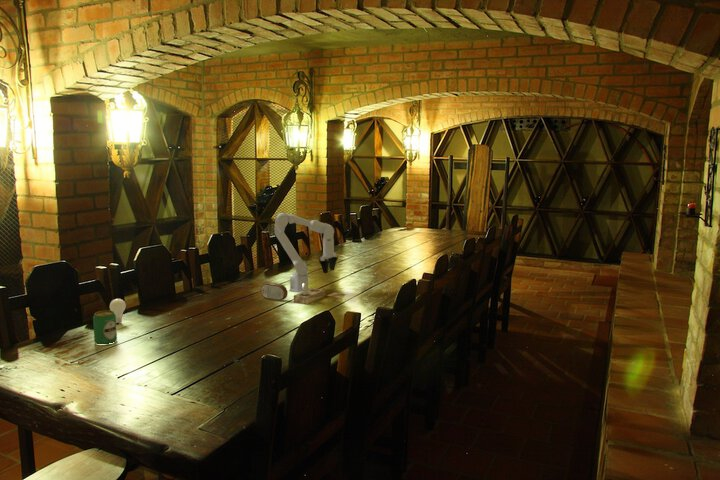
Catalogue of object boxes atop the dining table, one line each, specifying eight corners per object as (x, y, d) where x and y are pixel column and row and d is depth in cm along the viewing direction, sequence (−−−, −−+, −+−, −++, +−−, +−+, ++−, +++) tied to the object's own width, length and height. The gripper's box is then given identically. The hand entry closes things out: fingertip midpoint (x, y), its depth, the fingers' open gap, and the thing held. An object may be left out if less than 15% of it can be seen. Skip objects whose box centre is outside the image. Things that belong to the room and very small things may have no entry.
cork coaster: (326, 296, 288) (326, 295, 288) (334, 293, 295) (334, 292, 295) (340, 298, 284) (340, 297, 284) (347, 294, 291) (347, 294, 291)
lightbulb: (111, 326, 234) (109, 301, 232) (110, 322, 239) (108, 297, 238) (127, 324, 237) (125, 299, 235) (126, 320, 242) (124, 296, 240)
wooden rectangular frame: (293, 302, 275) (293, 295, 275) (311, 294, 291) (312, 287, 291) (307, 304, 272) (307, 297, 271) (325, 296, 288) (325, 289, 287)
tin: (287, 300, 279) (287, 284, 278) (284, 302, 276) (284, 285, 275) (263, 296, 285) (263, 281, 284) (259, 298, 282) (259, 282, 281)
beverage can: (102, 347, 209) (100, 317, 207) (90, 343, 213) (88, 313, 212) (121, 341, 216) (119, 312, 214) (109, 337, 220) (107, 308, 218)
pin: (301, 302, 276) (301, 283, 274) (303, 300, 279) (303, 282, 277) (307, 302, 275) (307, 284, 274) (309, 301, 278) (309, 282, 277)
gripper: (328, 249, 289) (328, 274, 291) (341, 245, 302) (341, 269, 304) (316, 248, 292) (317, 273, 294) (330, 244, 305) (330, 268, 307)
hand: (328, 271), depth 299 cm, fingers open, 7 cm apart
